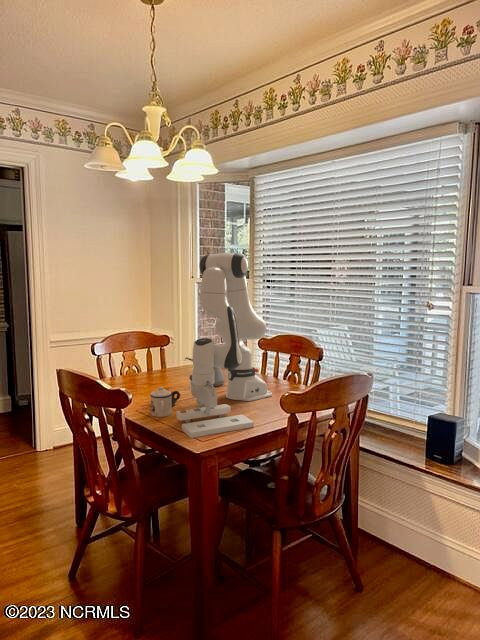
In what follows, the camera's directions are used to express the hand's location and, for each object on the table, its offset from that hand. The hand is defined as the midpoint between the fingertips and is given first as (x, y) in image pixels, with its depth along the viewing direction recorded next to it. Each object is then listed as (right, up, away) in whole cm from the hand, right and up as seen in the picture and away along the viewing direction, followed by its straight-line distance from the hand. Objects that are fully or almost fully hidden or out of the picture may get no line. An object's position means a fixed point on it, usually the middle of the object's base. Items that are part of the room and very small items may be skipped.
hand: (203, 412), depth 185 cm
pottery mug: (-18, -1, +20) cm, 27 cm away
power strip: (0, -3, 0) cm, 3 cm away
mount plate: (+6, -4, -10) cm, 12 cm away
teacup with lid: (-18, -3, +6) cm, 19 cm away
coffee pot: (-4, +3, +55) cm, 55 cm away
